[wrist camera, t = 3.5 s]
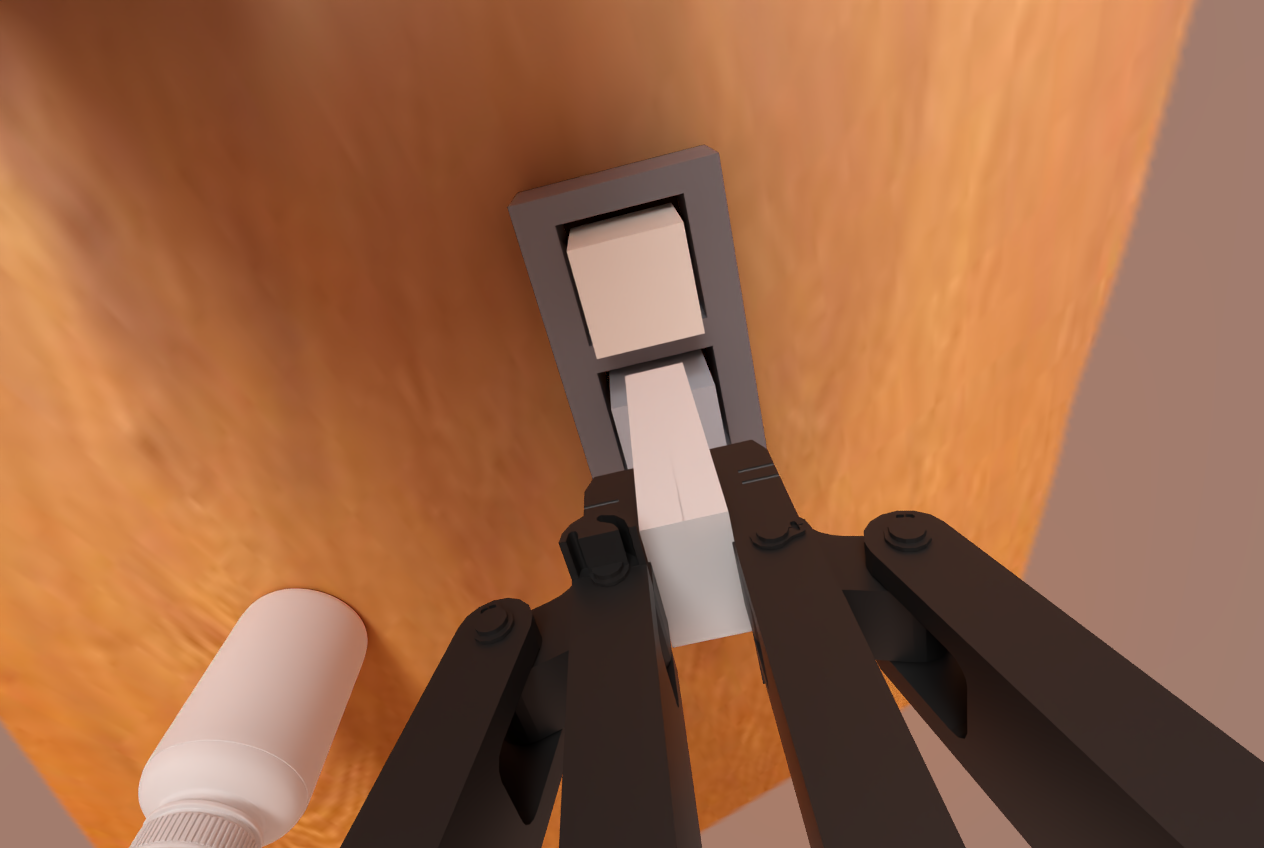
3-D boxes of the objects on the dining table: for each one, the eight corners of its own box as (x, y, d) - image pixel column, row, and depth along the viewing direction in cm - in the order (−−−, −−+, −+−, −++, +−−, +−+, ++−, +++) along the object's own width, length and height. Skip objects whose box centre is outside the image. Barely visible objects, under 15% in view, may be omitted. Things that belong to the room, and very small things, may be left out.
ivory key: (596, 323, 31) (597, 359, 27) (570, 228, 29) (566, 251, 25) (690, 300, 31) (704, 333, 27) (671, 202, 29) (683, 221, 25)
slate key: (630, 447, 35) (635, 494, 31) (609, 369, 33) (611, 409, 29) (716, 427, 34) (732, 472, 30) (700, 347, 32) (714, 384, 28)
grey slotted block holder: (626, 552, 41) (629, 596, 38) (517, 193, 31) (507, 207, 27) (768, 520, 40) (785, 562, 37) (704, 144, 30) (718, 152, 27)
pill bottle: (350, 688, 45) (248, 939, 32) (230, 651, 43) (67, 903, 30) (389, 610, 42) (295, 852, 29) (262, 566, 40) (98, 804, 27)
